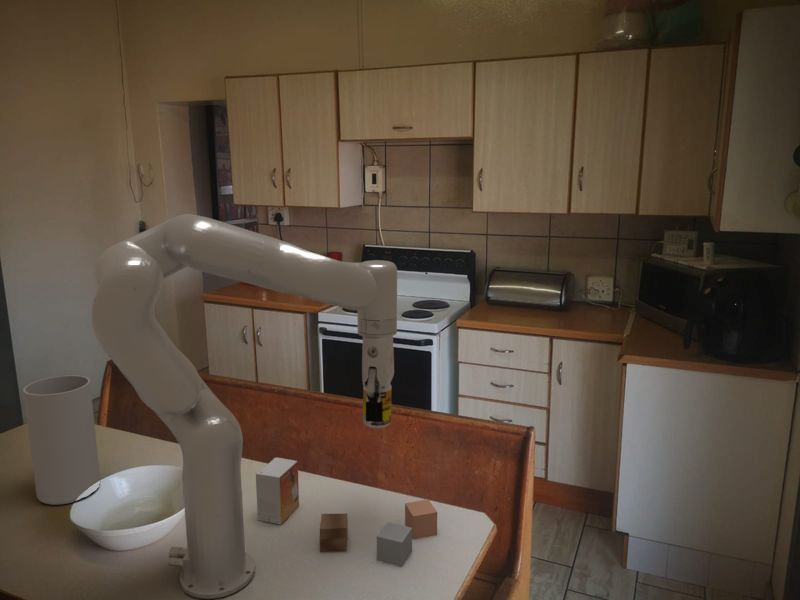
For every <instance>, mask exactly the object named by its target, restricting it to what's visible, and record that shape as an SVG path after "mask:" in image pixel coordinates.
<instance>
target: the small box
mask: <svg viewBox="0 0 800 600" xmlns="http://www.w3.org/2000/svg"><path fill="white" fill-rule="evenodd" d="M255 486H256V487H255V489H256V490H255V491H256V492H255V493H256V510H257V511H256V512H257V520H258V521H261V522H266V523H270V524H276V525H281V526H282V524H283V523H284V522H285V521H286V520H287V519H288V518H289V517H290V515H292V514H293V513H294V511H296V510H297V509H298V508H299V506H300V500H299V499H300V498H299V497H300V495H299V487H300V486H299V462H298V461H297V460H294V459H287V458H282V457H278V456H277V457H274V458H273V459H272V460H271V461H270V462H269V463H267V464H266V465H265V466H264V467H263V468H261V469H260V470H258V471H257V472H256V473H255Z"/></svg>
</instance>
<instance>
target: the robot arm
mask: <svg viewBox="0 0 800 600" xmlns="http://www.w3.org/2000/svg"><path fill="white" fill-rule="evenodd" d="M94 266H95V267H94V274H95V279H96V280H97V283H98V287H97V289H96V292H95V294H94V298H93V300H92V306H91V324H92V329H93V332H94V335H95V337H96V339H97V341H98V343H99V344H100V346H101V347H102V349H103V351H104V352H105V353H106V355H108V357H109V358H110V359H111V360H112V362H113V364H115V365H116V367H117V368H118V370H119V371H120V372H121V374H122V375H123V376H124V377H125V378H126V380H127V381H128V382H129V383H130V384H131V386H132V387H133V388H134V390H135V392H136V394H137V395H138V397H139V398H140V400H141V401H142V402H143V403H144V404H145V405H146V407H148V408H150V409H151V410H152V411H153V412H154V413H155V414H156V415H157V417H159V418H160V420H161V421H162V422H163V423H164V424H165V425H166V426H167V428H168V429H169V430H170V432H171V433H172V435H173V437H174V438H175V439H176V442H177V443H178V445H179V446H180V449H181V453H182V462H183V463H182V494H183V504H184V506H183V507H184V519H185V532H186V544H187V548H186V547H179V546H171V547H170V549H169V551H168V558H169V560H168V566H170V567H180V568H181V569H182V570H181V572H180V576H179V579H180V580H179V581H180V586H181V589H182V590H183V592H185V594H187V595H189V596H191V597H193V598H197V599H205V600H209V599H211V600H213V599H219V598H223V597H226V596H230V595H231V594H235V593H236V592H239V591H240V590H243V588H244V587H246V586H247V585H248V584H249V583H250V582H251V580H252V579H253V577H254V575H255V572H256V571H255V569H256V565H255V559H254V558H253V557H252V556H251V555H250V554H249V553H248V552H246V544H245V527H244V526H245V525H244V523H245V522H244V509H243V508H244V507H243V505H244V504H243V490H242V489H243V488H242V458H243V457H242V453H243V446H244V445H243V444H244V443H243V439H244V438H243V432H242V428H241V425H240V423H239V421H238V419H237V418H236V417H235V415H234V414H233V413H232V411H230V409H228V408H227V407H226V406H225V404H223V403H222V401H220V399H219V398H218V397H217V396H216V394H215V393H213V391H212V390H211V389H210V387H209V386H208V385H207V383H205V381H204V380H203V379H202V377H201V376H200V374H199V372H198V370H197V369H196V367H195V366H194V364H193V363H192V362H191V360H190V359H189V358H188V356H186V355H185V354H184V353H183V352H182V351H181V350H179V349H178V347H177V346H176V345H175V344H174V342H173V341H172V340H171V338H170V337H169V335H168V334H167V333H166V331H165V330H164V329H163V326H161V324H160V323H159V321H158V320H157V317H156V314H155V313H156V312H155V309H156V303H157V300H158V298H159V296H160V293H161V291H162V288H163V284H164V279H166V278H168V277H170V276H173V274H176V273H178V272H180V271H182V270H183V269H185V268H190V269H193V270H194V271H200V272H202V273H203V272H204V273H206V274H210V275H214V276H218V277H221V278H227V279H231V280H234V281H239V282H242V283H244V284H245V283H246V284H249V285H253V286H257V287H260V288H265V289H268V290H272V291H274V292H279V293H283V294H287V295H289V294H290V295H293V296H298V297H301V298H305V299H309V300H313V301H315V302H316V301H317V302H320V303H324V304H328V305H332V306H335V307H338V308H339V307H340V308H343V309H347V310H351V311H357V334H358V336H361V337H362V346H361V347H362V355H361V357H362V358H361V378H362V379H361V381H362V386H363V385H364V386H365V387H367V393H366V421H371V422H382V420H383V401H381V395H382V387H384V388H387V387H388V386H389V385H390V384H391V382H392V380H393V378H394V376H395V375H394V374H395V356H394V354H395V353H394V352H395V351H394V350H395V349H394V336H396V335H397V332H398V316H397V315H398V267H397V265H396V264H395V263H394V262H392V261H390V260H380V259H373V260H365V261H362V262H351V261H349V262H348V261H341V260H337V259H335V258H332V257H328V256H324V255H322V254H319V253H315V252H312V251H309V250H307V249H304V248H302V247H299V246H298V245H296V244H295V245H294V244H293V243H290V242H287V241H284V240H280V239H279V238H276V237H271V236H269V235H265V234H262V233H258V232H255V231H252V230H250V229H246V228H242V227H239V226H237V225H234V224H233V225H232V224H229V223H227V222H224V221H220V220H218V219H217V220H216V219H215V218H214V219H213V218H211V217H206V216H201V215H198V214H192V213H184V214H180V215H177V216H174V217H173V218H170V219H168V220H165V221H164V222H162V223H160V224H157V225H155V226H153V227H151V228H149V229H146V230H144V231H141V232H139V233H137V234H135V235H133V236H131V237H128V238H126V239H124V240H121V241H119V242H117V243H116V244H114V245H111V246H109V247H108V248H106V249H105V250H104V251H103V252H101V254H100V256H98V258H97V261H96V263H95V265H94ZM375 383H379V386H375ZM375 389H378V394H377V392H375Z"/></svg>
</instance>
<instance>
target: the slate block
mask: <svg viewBox="0 0 800 600" xmlns="http://www.w3.org/2000/svg"><path fill="white" fill-rule="evenodd" d="M412 553H413V538H412V528H411V527H406V526H405V525H402V524H397V523H393V522H388V521H387V522H386V523H385V524H384V526H383V527H382V528H381V530H380V531H379V532H378V534H377V535H376V561H378V562H381V563H382V562H383V563H386V564H389V565H394V566H397V567H400V568H402V567H403V566H404V565H405V563H406V561H407V560H408V558H409V557H410V555H411V554H412Z"/></svg>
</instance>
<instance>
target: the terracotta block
mask: <svg viewBox="0 0 800 600" xmlns="http://www.w3.org/2000/svg"><path fill="white" fill-rule="evenodd" d="M404 526H406V527H411V528H412V540H417V539H421V538H426V537H427V538H428V537H433V536H437V535H438V511H437V510H436V508H435V506H434V505H433V503H431V500H429V499H422V500H421V499H420V500H417V501H410V502H405V503H404Z"/></svg>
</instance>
